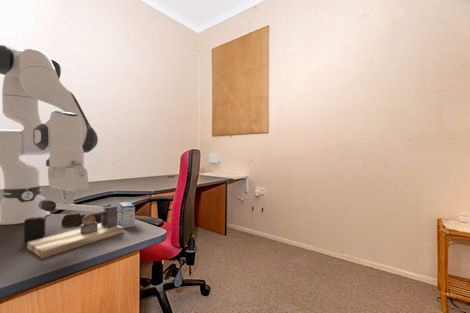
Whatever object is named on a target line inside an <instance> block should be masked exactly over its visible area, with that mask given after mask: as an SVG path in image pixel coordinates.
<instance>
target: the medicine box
mask: <svg viewBox="0 0 470 313" xmlns="http://www.w3.org/2000/svg"><path fill="white" fill-rule="evenodd" d="M117 204H118V205H117V224H119V226H122V227H123V229H127V228H132V227H133V228H134V227H135V226H136V225H135V223H136V222H135V220H136V216H135V215H136V207H135V205H134V204H133V203H132V202H130V201H125V202H124V201H123V202H118V203H117Z"/></svg>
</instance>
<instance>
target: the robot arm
mask: <svg viewBox="0 0 470 313" xmlns="http://www.w3.org/2000/svg"><path fill="white" fill-rule="evenodd" d="M61 70H62V69H61V65H60V63H59V62H58V61H57V60H56V59H54V58H51V57H50V56H48V55H47V53H45V52H43V51H42V50H39V49H36V48H26V49H20V48H14V47H10V46H9V47H8V46H7V45H1V44H0V75H3V76H4V78H3V82H2V89H1V90H2V92H1V93H2V94H1V97H2V99H1V100H2V113H3V115H4V116H5V117H6V118H7V119H10V120H11V121H13V122H16V123H19V124H20V125H22V127H23V129H5V128H3V129H2V128H0V168H1V171H2V174H3V175H2V176H3V180H4V182H3V184H4V188H3V190H2V197H3V198H2V200H1V201H0V225H4V226H5V225H18V224H24V220H26V219H28V218H32V217H33V218H35V217H45V218H46V217H47V216H49V215H51V211H45V210H43V209H40V208H39V206H38V204H39V202H40V201H42V200H46V197H44V196H42V188H41V185H40V171H39V170H40V169H39V168H38V167H37V166H35V165H33V164H30V163H27V162H24V161H22V160H21V159H20V157H23V156H46V155H49V157H48V158H47V159H46V160H45V166H46V167H47V178H48V184H49V186H50V189H55V190H59V191H60V193H61V196H62V199H63V203H62V204H75V203H74V199H75V196H76V193H83V192H87V191H88V190H89V188H90V187H89V175H88V169H87V168H86V167H85V156H84V155H85V153H90V152H91V151H92V150H94V149H95V148H96V147H97V145H98V141H99V138H98V135H97V132H96V130H95V129H94V128H93V127H92V126H91V124H90V122H89V120H88V119H87V117H86V115H85V113H84V111H83V109H82V107H81V106H80V104H79V102H78V99H77V98H76V97H75V95H74V94H73V93H72V92H71V91H70V90H68V89H67V87H65V86H64V84H63V83H62V82H61V80H60V77H61V75H62V74H61V73H62V72H61ZM39 101H40V102H43V103H46V104H48V105H51V106H53V107H56V108H58V109H60V110H62V111H60V110H55V111H51V113H50V115H49V119H48V120H47V121H46V122H44V123H43V122H42V120H41V117H40V113H39V112H40V110H39Z"/></svg>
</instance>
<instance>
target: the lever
mask: <svg viewBox="0 0 470 313" xmlns="http://www.w3.org/2000/svg"><path fill="white" fill-rule="evenodd" d="M38 206H39V208H40V209H43V210H45V211H46V212H53V211H54V210H63V211H66V210H68V211H78V212H79V211H83V212H95V213H100V212H107V207H101V206H97V205H86V204H85V205H84V204H75V203H73V204H65V203H59V202H55V201H52V200H50V199H45V200H42V201H40V202H39V204H38Z"/></svg>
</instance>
